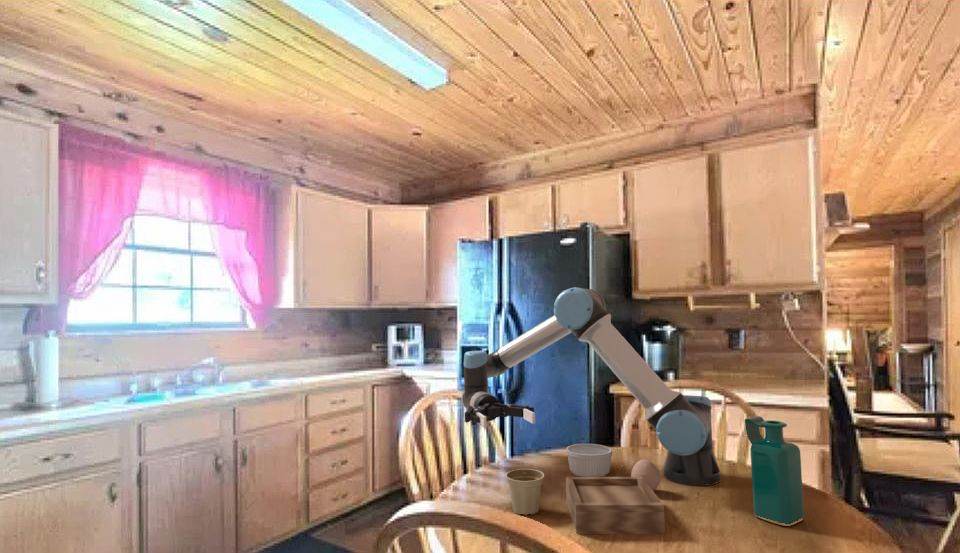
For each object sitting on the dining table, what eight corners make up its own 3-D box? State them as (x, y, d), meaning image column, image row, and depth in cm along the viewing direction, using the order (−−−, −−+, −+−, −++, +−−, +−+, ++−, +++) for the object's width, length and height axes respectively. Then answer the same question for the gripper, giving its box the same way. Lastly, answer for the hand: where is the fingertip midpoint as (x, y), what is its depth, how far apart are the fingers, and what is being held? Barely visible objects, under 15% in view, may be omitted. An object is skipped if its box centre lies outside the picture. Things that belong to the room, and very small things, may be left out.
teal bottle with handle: (807, 520, 120) (802, 421, 121) (787, 529, 115) (782, 426, 116) (765, 507, 128) (760, 414, 129) (744, 515, 123) (739, 419, 125)
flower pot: (543, 519, 123) (542, 481, 124) (503, 517, 125) (502, 480, 126) (546, 504, 132) (545, 469, 133) (509, 502, 134) (508, 468, 135)
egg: (656, 499, 135) (654, 465, 135) (628, 494, 139) (626, 461, 139) (663, 490, 141) (661, 458, 141) (636, 486, 145) (635, 454, 145)
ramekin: (605, 465, 164) (605, 442, 164) (618, 479, 151) (617, 454, 151) (563, 466, 163) (562, 443, 164) (572, 480, 150) (571, 455, 151)
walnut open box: (642, 503, 133) (641, 476, 134) (665, 535, 114) (663, 505, 115) (566, 503, 134) (565, 477, 134) (576, 535, 115) (575, 505, 116)
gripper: (524, 415, 163) (553, 430, 143) (445, 422, 156) (464, 439, 135) (523, 390, 163) (552, 402, 143) (444, 396, 156) (463, 409, 136)
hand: (509, 420), depth 139 cm, fingers open, 13 cm apart
